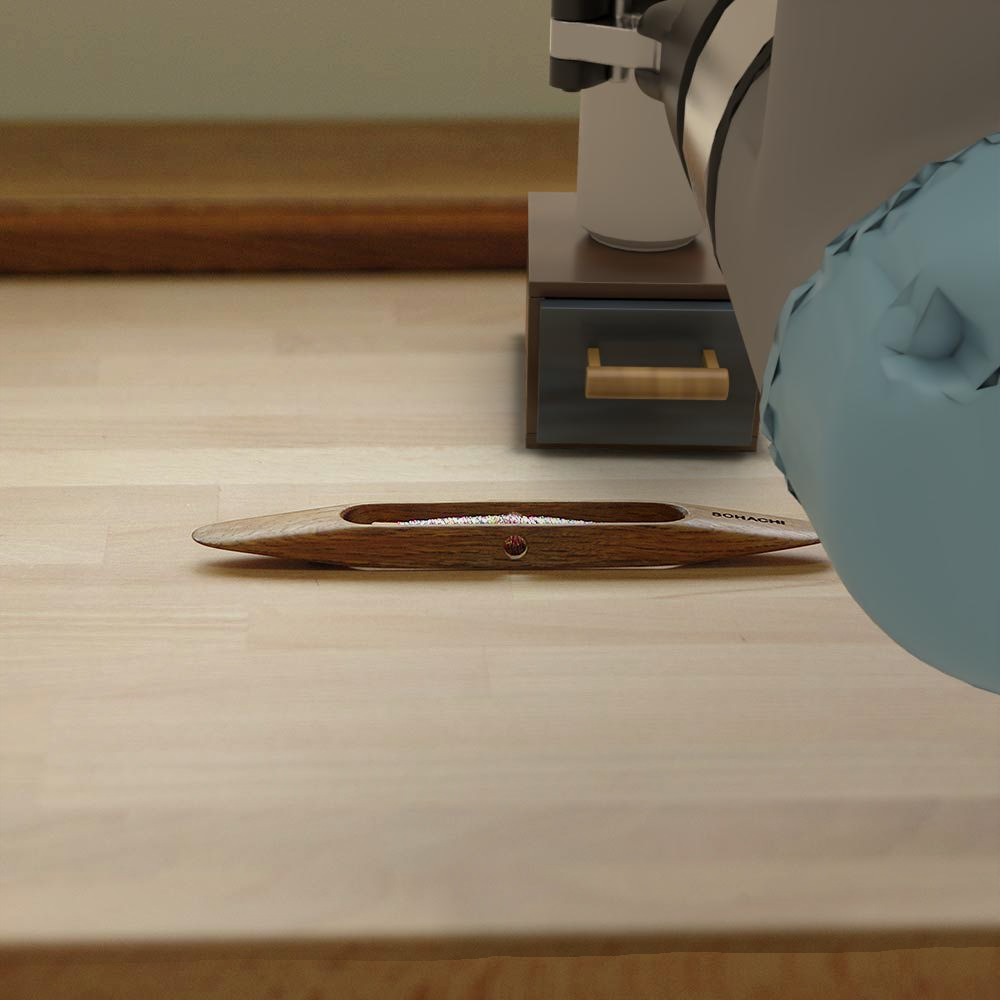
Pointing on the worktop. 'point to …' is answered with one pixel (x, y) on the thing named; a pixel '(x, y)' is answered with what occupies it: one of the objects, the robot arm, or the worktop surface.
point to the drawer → (643, 373)
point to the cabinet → (605, 289)
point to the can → (631, 172)
